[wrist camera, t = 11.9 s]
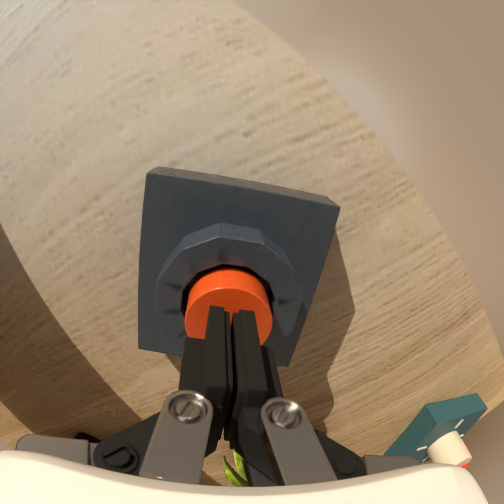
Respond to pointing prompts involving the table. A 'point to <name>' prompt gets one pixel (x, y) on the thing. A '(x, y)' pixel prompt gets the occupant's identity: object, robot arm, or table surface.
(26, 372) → the table surface
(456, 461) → the program dial
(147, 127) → the table surface
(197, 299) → the button
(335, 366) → the table surface
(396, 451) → the dial panel
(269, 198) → the housing
